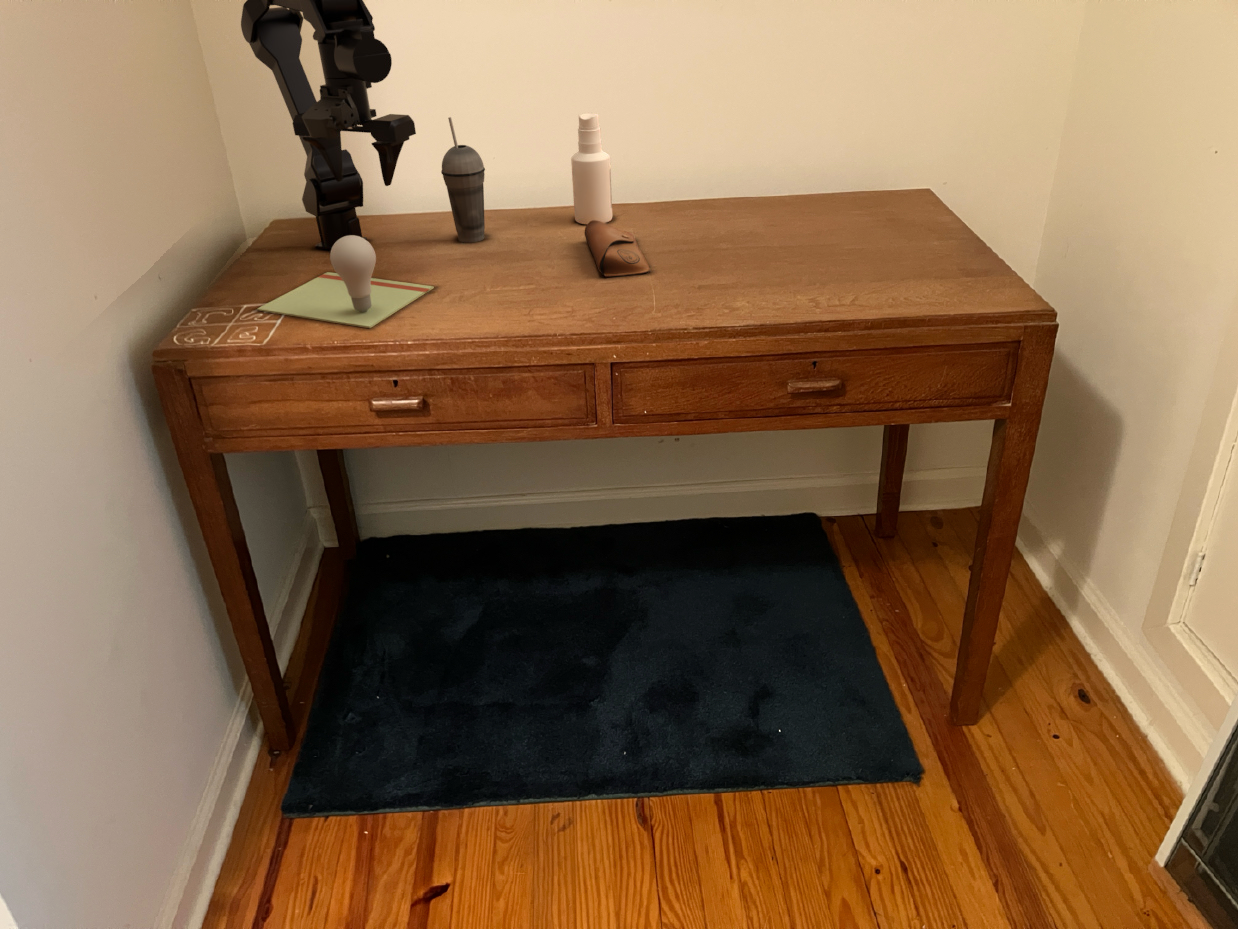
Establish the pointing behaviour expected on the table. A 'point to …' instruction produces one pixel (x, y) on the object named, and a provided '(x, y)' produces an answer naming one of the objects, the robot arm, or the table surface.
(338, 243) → the lightbulb
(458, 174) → the beverage cup
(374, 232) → the table surface
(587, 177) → the spray bottle
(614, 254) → the sunglasses case
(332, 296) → the cloth
